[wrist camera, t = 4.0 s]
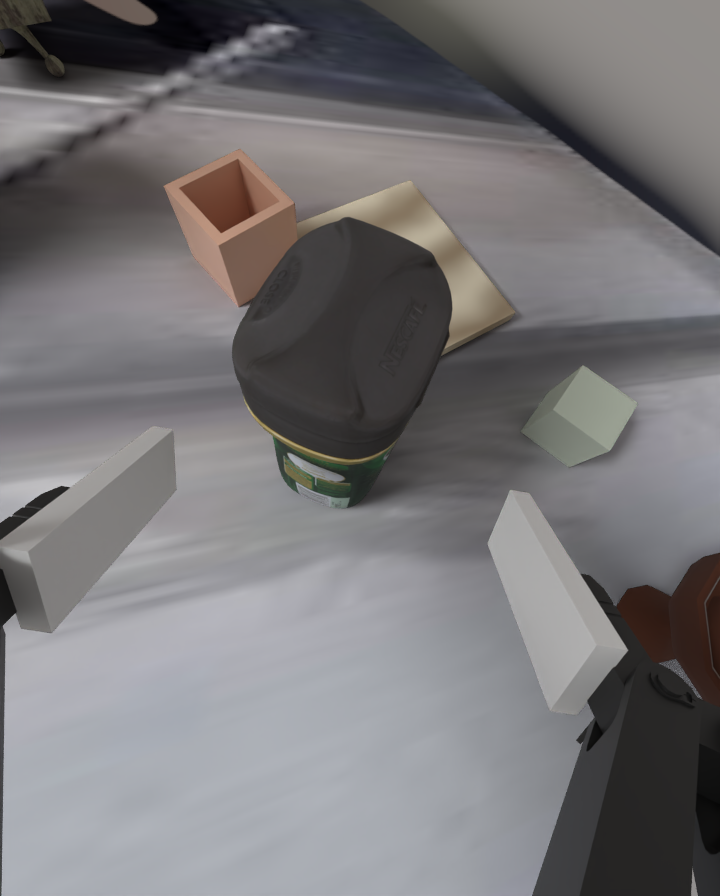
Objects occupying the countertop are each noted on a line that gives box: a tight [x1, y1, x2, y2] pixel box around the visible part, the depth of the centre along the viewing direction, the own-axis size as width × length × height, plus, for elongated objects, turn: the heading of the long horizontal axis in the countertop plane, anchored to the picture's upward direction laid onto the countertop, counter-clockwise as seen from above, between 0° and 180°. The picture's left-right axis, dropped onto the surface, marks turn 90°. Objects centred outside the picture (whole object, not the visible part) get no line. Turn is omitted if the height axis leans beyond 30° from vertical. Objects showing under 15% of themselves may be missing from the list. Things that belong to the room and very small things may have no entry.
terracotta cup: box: [164, 149, 298, 307], centre depth 32 cm, size 7×7×7 cm
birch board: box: [296, 180, 515, 356], centre depth 36 cm, size 18×14×1 cm
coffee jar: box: [232, 217, 453, 508], centre depth 22 cm, size 10×8×19 cm
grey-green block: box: [521, 365, 638, 467], centre depth 31 cm, size 5×5×5 cm
